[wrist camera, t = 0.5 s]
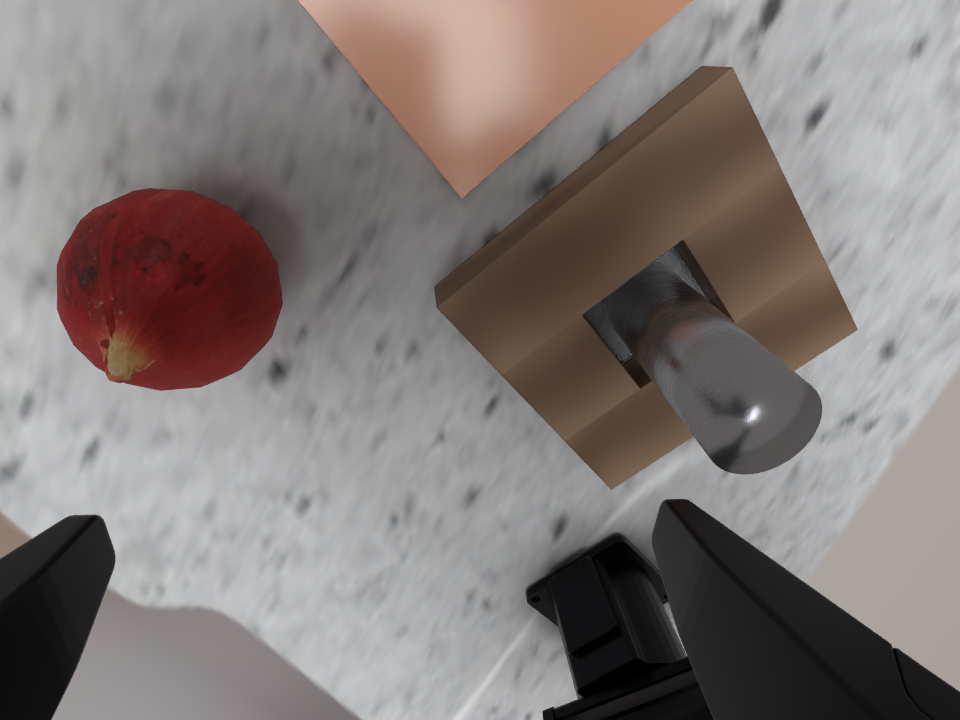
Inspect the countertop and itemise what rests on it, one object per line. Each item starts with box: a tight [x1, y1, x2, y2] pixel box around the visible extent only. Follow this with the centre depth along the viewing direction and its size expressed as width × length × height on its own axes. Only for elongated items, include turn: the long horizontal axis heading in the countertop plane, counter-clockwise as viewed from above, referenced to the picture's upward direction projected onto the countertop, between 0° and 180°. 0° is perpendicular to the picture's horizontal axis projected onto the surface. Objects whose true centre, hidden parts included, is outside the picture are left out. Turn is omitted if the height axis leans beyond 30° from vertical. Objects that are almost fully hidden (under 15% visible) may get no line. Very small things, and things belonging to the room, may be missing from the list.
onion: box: [57, 188, 283, 391], centre depth 16 cm, size 6×6×8 cm
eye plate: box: [435, 66, 858, 489], centre depth 22 cm, size 12×12×2 cm
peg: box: [603, 262, 822, 474], centre depth 19 cm, size 3×3×9 cm
